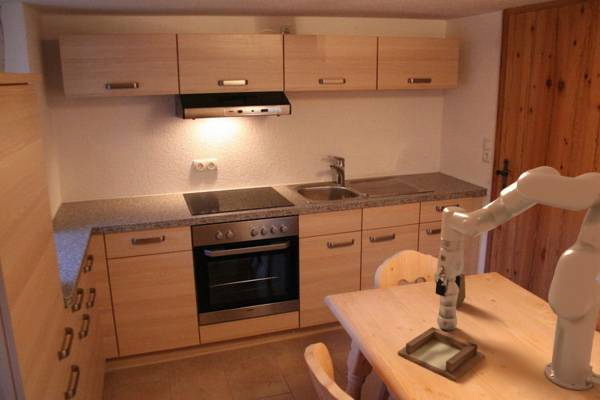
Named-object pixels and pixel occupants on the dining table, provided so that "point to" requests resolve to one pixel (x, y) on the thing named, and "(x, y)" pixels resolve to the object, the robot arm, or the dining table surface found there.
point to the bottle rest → (442, 353)
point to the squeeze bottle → (461, 291)
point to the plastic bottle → (448, 306)
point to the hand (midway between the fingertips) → (447, 290)
